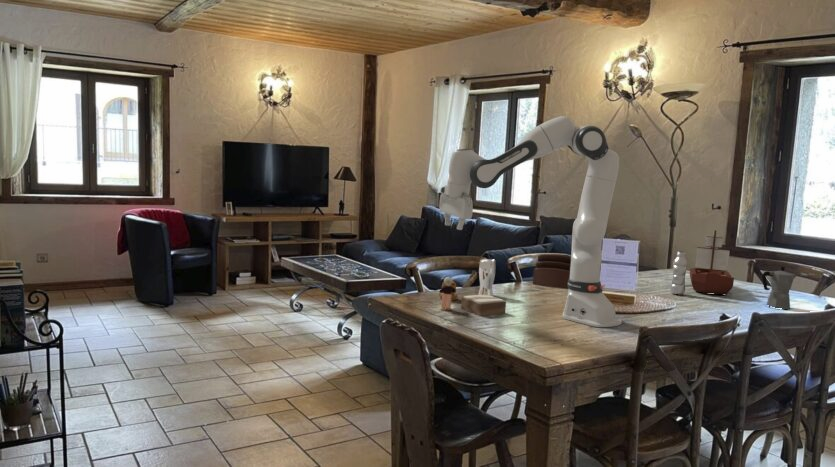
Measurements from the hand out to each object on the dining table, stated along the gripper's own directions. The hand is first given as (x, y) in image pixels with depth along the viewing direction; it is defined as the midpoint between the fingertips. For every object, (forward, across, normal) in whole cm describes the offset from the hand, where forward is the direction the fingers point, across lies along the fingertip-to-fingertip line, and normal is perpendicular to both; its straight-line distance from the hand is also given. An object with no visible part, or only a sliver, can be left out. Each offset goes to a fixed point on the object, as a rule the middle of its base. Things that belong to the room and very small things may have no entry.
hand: (453, 227), depth 244 cm
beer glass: (+31, +16, -29) cm, 45 cm away
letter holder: (+29, +28, -74) cm, 84 cm away
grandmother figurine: (+32, -3, 0) cm, 32 cm away
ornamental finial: (+32, +13, -9) cm, 36 cm away
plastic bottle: (+25, -4, -120) cm, 122 cm away
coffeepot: (+23, -35, -144) cm, 150 cm away
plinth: (+30, -9, -12) cm, 34 cm away
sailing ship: (+24, +2, -147) cm, 149 cm away
